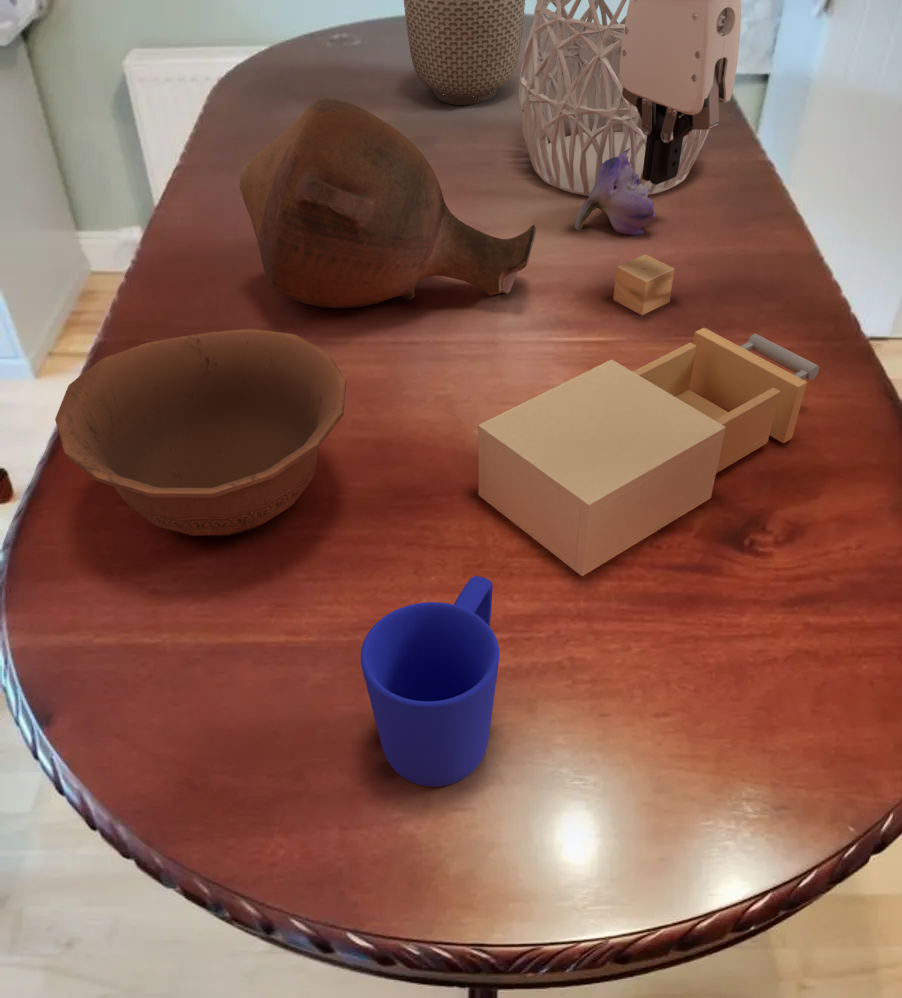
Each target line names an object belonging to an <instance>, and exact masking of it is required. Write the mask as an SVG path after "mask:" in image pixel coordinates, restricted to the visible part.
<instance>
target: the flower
mask: <svg viewBox="0 0 902 998" xmlns="http://www.w3.org/2000/svg"><path fill="white" fill-rule="evenodd" d="M629 150H630V148H628V149H627V150H625V151H624V152H623V153H622V154H620V155H619V156H617V157H614V158H611V159H608V160H606V161H605V162H604V163H603V164H602V165H601V166H600V168H599V171H598V173H597V177H596V182H595V185H594V187H593V190H592V192H591V194H590V196H588V198H587V199H586V200H585V201H584V202H583V203H582V204H581V206H580V208H579V210H578V212H577V214H576V217H575V222H574V226H573V227H574V229H575V230H576V231H582V230H583V226H584V223H585V222H586V220H587V219H588V217H589V216H590V215H591V213H592V212H593V211H594V210H595V209H599V210H601V211H602V212H604V214H605V215H606V216H607V217H608V220H609V222H610V225H611V227H612V228H613V230H614V231H616V232H617V233H619V234H621V235H623V236H624V235H625V236H641V235H643V234H644V233H645V232H644V230H641V229H642V228H643V227H644V226H646V225H647V224H648V223H649V222H650V221H652V220H653V219H654V218H655V216H656V213H657V212H655V207H654V201H653V200H652V198H651V197H648V196H649V195H648V190H647V189H646V188H644V187H643V185H642V184H640V185H638V184H639V181H640V179H639V175H637V174H636V173H635V172H634V169H632V165H631V164H630V163H629V161H628V156H627V153H628V151H629Z"/></svg>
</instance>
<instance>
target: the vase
mask: <svg viewBox="0 0 902 998" xmlns="http://www.w3.org/2000/svg"><path fill="white" fill-rule="evenodd" d="M587 1H588V5H589V7H588V8H587V9H586V11H585V12H584V13H583V14H582V15H581V17H580V19H576V18H574V16H575V14H576V12H577V10H578V9H579V6H580V4H581V2H582V0H574V2H573V5H572V6H571V8H570V10H569V12H568V11H567V9H566V6H567V5H568V4H569V3H570V2H572V0H536V4H535V7H534V10H533V11H534V13H533V20H532V24H531V27H530V30H529V34H528V38H527V41H526V45H525V49H524V52H523V54H522V55H523V56H522V62H521V67H520V73H519V81H518V102H519V103H518V104H519V105H518V106H519V108H518V109H519V117H520V125H521V131H522V132H521V133H522V135H523V138H524V141H525V145H526V149H527V151H528V155H529V159H530V162H531V164H532V168H533V170H534V172H535V173H536V174H537V175H538V176H539V177H540V179H542V181H544V182H545V183H547V184H548V185H551V186H552V187H555V188H558V189H560V190H563V191H565V192H569V193H571V194H578V195H581V196H585V197H586V196H587V197H589V196H590V194H591V192H592V190H593V187H594V185H595V182H596V177H597V173H598V171H599V168H600V166H601V165H602V164H603V163H604V162H605V161H606V160H608V159H611V158H614V157H617V156H619V155H620V154H622V153H623V152H624V151H625V150H627V149H628V148H630V150H629V151H628V153H627V156H628V161H629V163H630V164H631V165H632V169H634V172H635V173H636V174H637V175H639V179H640V181H639V184H638V185H640V184H642V185H643V187H644V188H646V189H647V190H648V196H649V195H655V194H659V193H662V192H664V191H667V190H669V189H672V188H674V187H675V186H677V185H679V184H680V183H682V182H683V181H684V180H685V179H686V178H687V177H688V174H689V173H690V171H691V169H692V167H693V166H694V164H695V162H696V160H697V158H698V155H699V154H700V152H701V150H702V148H703V146H704V144H705V141H706V139H707V137H708V135H709V133H710V130H711V128H710V129H708V130H694V129H693V130H692V131H690V134H689V135H687V136H685V137H683V142H682V149H681V156H680V163H679V168H678V173H677V175H676V177H674V178H672V179H670V180H667V181H665V182H662V183H660V184H657V185H655V184H652V183H651V182H650V181H646V180H643V179H642V173H643V165H644V157H645V149H646V140H647V136H646V135H644V134H643V132H642V129H641V128H640V127H638V124H639V121H640V119H641V117H640V115H639V112H638V110H637V108H636V107H635V106H633V105H632V104H631V103H630V102H628V101H627V100H626V99H625V98H624V97H623V95H622V90H623V85H622V84H621V82H620V63H619V64H618V69H617V74H616V72H615V71H614V69H613V68H612V56H614V55H618V56H619V57H620V56H621V47H622V39H623V32H624V26H625V21H626V16H625V17H623V19H621V21H620V22H618V19H619V17H620V15H621V13H622V11H623V10H624V6H625V5H626V4H627V3H626V2H627V1H628V0H620V3H619V4H618V6H617V8H616V10H615V13H613V12H612V11H611V9H610V8H609V6H608V4H607V3H606V1H605V0H587ZM550 3H551V4H552V5H553V6H554V7H555V8H556V9H555V10H554V11H552V10H551V9H549V8H548V6H549V5H550ZM598 8H599V11H600V16H601V23H600V19H599V15H598V12H597V10H598ZM548 17H549V18H550V19H549V18H548ZM607 17H608V19H609V24H608V20H607ZM555 26H556V34H555V31H554V27H555ZM581 28H583V29H582V32H580V30H581ZM567 30H568V31H569V33H570V35H569V36H568V37H567V38H566V36H567V35H566V32H567ZM595 34H596V40H597V41H596V42H593V41H592V40H591V38H589V37H588V36H592V35H595ZM609 37H610V39H609ZM617 39H618V40H617ZM550 41H551V42H552V44H553V47H552V48H551V51H550V52H549V51H548V52H547V50H548V47H549V46H548V45H549V43H550ZM589 50H590V52H591V53H593V54H594V56H593V57H592V58H591V60H590V61H587V59H585V58H584V57H583V56H582V53H583V52H586V51H589ZM555 57H556V64H555V65H554V67H553V69H552V70H551V68H552V66H553V63H554V60H555ZM571 58H572V59H574V63H573V68H572V74H571V75H570V72H569V68H568V65H567V60H569V59H571ZM597 68H598V71H597V73H596V70H597ZM555 74H556V76H555ZM554 76H555V77H554ZM602 79H603V86H604V87H603V88H604V94H605V102H606V107H604V108H602V87H601V86H602V84H601V83H602ZM592 80H594V83H595V91H594V92H595V94H594V103H593V108H592V107H589V106H588V91H589V89H590V85H591V83H592ZM612 83H613V85H614V89H613V88H612V87H613V85H612ZM579 84H580V95H579V98H578V100H577V96H578V95H577V94H578V85H579ZM550 87H552V89H553V91H554V99H550V98H549V92H550V89H551V88H550ZM563 91H564V92H563ZM563 93H564V97H563ZM621 103H622V106H623V108H620V105H621ZM630 104H631V105H630ZM543 106H544V108H543ZM551 106H552V107H553V108H554V114H555V115H554V116H553V113H552V110H551ZM543 109H544V113H543ZM589 115H593V125H592V127H591V128H590V124H589ZM620 115H621V116H620ZM580 116H581V117H582V120H581V118H580ZM600 117H603V118H606V123H605V124H604V125H603V126H601V127H599V128H598V124H599V120H600ZM566 118H568V123H569V129H570V130H569V131H570V135H568V136H566V133H565V119H566ZM679 118H680V117H679ZM619 124H621V125H622V131H615V130H614V129H615V126H616V125H619Z"/></svg>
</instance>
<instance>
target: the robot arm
mask: <svg viewBox="0 0 902 998" xmlns="http://www.w3.org/2000/svg"><path fill="white" fill-rule="evenodd" d="M627 5H628V6H627V10H626V15H625V17H626V21H625V26H624V31H623V32H622V34H623V39H622V47H621V56H620V55H619V64H620V82H621V85H622V87H623V90H622V95H623V97H624V98H625V99H626V100H627V101H628V102H630V103H629V104H632V105H633V106H635V107H636V108H637V110H638V112H639V115H640V119H641V130H642V132H643V134H644V135H646V136H647V140H646V149H645V157H644V165H643V173H642V179H643V180H646V181H650V182H651V183H652V184H655V185H657V184H660V183H662V182H665V181H667V180H670V179H672V178H674V177H676V175H677V173H678V168H679V163H680V156H681V149H683V146H682V142H683V137H685V136H687V135H689V134H690V131H692V130H693V129H694V130H708V129H710V130H711V129H713V128H716V127H718V125H719V122H720V105H724V104H727V103H729V102H730V101H731V99H732V96H733V91H734V89H735V88H734V87H735V82H736V81H735V80H736V74H737V68H738V60H739V50H740V41H741V40H740V39H741V28H742V27H741V26H742V0H629V1H628V4H627ZM679 117H680V118H679Z"/></svg>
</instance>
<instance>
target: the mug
mask: <svg viewBox="0 0 902 998" xmlns="http://www.w3.org/2000/svg"><path fill="white" fill-rule="evenodd" d="M493 591H494V589H493V583H492V581H491V579H488V578H486V577H484V576H483V577H482V576H478V575H474V576H472V577H471V578H470V579H469V580H468V581H467V582H466V584H465V585H464V586H463V588H462V590H461V591H460V593H459V594H458V596H457V598H456V600H455V601H454V604H452V603H446V602H436V601H428V602H425V601H424V602H418V603H412V604H408V605H405V606H403V607H400V608H397V609H395V610H393V611H391V612H388V614H386V615H385V616H383V617H381V618H380V620H378V621H377V622H376V623H375V624H374V625H373V626H372V627H371V628H370V629H369V631H368V632H367V634H366V636H365V638H364V640H363V642H362V645H361V650H360V665H361V670H362V674H363V677H364V682H365V685H366V689H367V690H366V691H367V693H368V697H369V701H370V706H371V710H372V713H373V717H374V721H375V725H376V728H377V733H378V737H379V741H380V745H381V748H382V751H383V754H384V756H385V759H386V760H387V762H388V763H389V765H390V767H391V768H392V769H393V770H394V771H395V772H396V773H397V774H398V775H399V776H400V777H402V778H403V779H405V780H407V781H408V782H411V783H413V784H415V785H419V786H422V787H430V788H431V787H432V788H438V787H446V786H450V785H453V784H455V783H458V782H461V781H462V780H464V779H466V778H467V777H469V776H470V775H471V774H472V773H473V772H474V771H476V769H477V768H478V767H479V765H480V764H481V763H482V761H483V759H484V757H485V754H486V752H487V750H488V745H489V739H490V731H491V725H492V717H493V709H494V703H495V702H494V701H495V695H496V687H497V678H498V673H499V672H498V671H499V664H500V654H501V653H500V645H499V642H498V639H497V637H496V634H495V633H494V631H493V629H492V628H491V618H492V605H493V604H492V603H493Z"/></svg>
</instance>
